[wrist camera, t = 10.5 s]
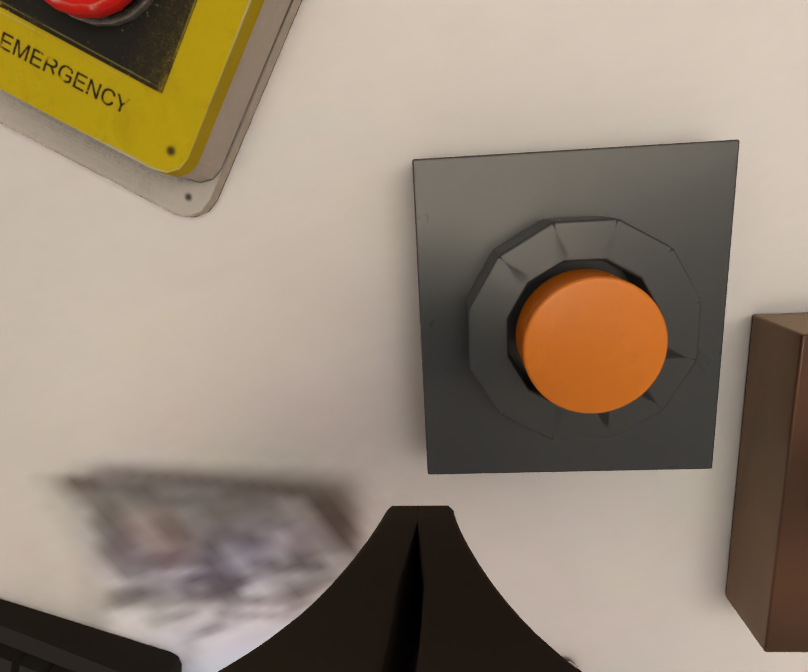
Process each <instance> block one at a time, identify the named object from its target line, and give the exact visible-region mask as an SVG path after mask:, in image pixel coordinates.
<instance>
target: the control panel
mask: <svg viewBox="0 0 808 672" xmlns="http://www.w3.org/2000/svg"><path fill="white" fill-rule="evenodd" d="M726 597H727V599H728V600H729V602H730V603H731V604H732V606H733V607H734V609H735V610H736V611H737V613H738V614H739V616H740V617H741V619H742V620H743V621H744V623H745V624H746V626H747V627H748V628H749V630H750V631H751V633H752V634H753V636H754V637H755V638H756V640H757V641H758V643H759V644H760V646H761V647H762V648H763V650H764V651H765V652H808V313H789V314H763V315H754V316H753V321H752V332H751V342H750V352H749V363H748V373H747V383H746V394H745V404H744V414H743V425H742V435H741V445H740V456H739V466H738V476H737V487H736V497H735V507H734V518H733V528H732V538H731V549H730V559H729V569H728V580H727V590H726Z"/></svg>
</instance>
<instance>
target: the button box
mask: <svg viewBox="0 0 808 672" xmlns="http://www.w3.org/2000/svg"><path fill="white" fill-rule="evenodd" d="M738 152H739V140H724V141H708V142H691V143H675V144H658V145H642V146H625V147H609V148H592V149H576V150H559V151H543V152H526V153H510V154H494V155H477V156H461V157H444V158H428V159H414V160H413V161H412V164H413V185H414V205H415V225H416V246H417V266H418V286H419V307H420V327H421V347H422V367H423V388H424V408H425V428H426V449H427V469H428V474H472V473H520V472H568V471H615V470H663V469H711V468H712V460H713V448H714V437H715V425H716V413H717V401H718V389H719V377H720V365H721V354H722V342H723V330H724V318H725V306H726V294H727V282H728V270H729V259H730V247H731V235H732V223H733V211H734V199H735V187H736V176H737V164H738ZM575 269H596V270H601V271H605V272H608V273H611V274H613V275H615V276H617V277H619V278H622V279H624V280H626V281H628V282H630V283H632V284H634V285H635V286H637V287H639V288H640V289H642V290H643V291H644V292H645V293H647V294H648V295H649V296H650V297H651V298H652V299H653V301H654V302H655V303H656V305H657V306H658V308H659V309H660V311H661V313H662V315H663V317H664V320H665V324H666V328H667V334H668V346H667V354H666V358H665V361H664V364H663V367H662V369H661V371H660V373H659V375H658V376H657V378H656V380H655V381H654V382H653V384H652V385H651V386H650V387H649V388H648V389H647V390H646V391H645V392H644V393H643V394H642V395H641V396H640V397H638V398H637V399H636V400H634V401H632V402H631V403H629V404H627V405H625V406H623V407H621V408H618V409H615V410H612V411H608V412H603V413H579V412H573V411H570V410H566V409H564V408H562V407H559V406H557V405H555V404H554V403H552V402H550V401H549V400H548V399H547V398H545V397H544V396H543V395H542V394H541V393H540V392H539V391H538V390H537V389H536V387H535V386H534V385H533V383H532V382H531V380H530V378H529V376H528V374H527V372H526V370H525V368H524V366H523V363H522V361H521V359H520V357H519V354H518V350H517V346H516V325H517V320H518V317H519V314H520V311H521V309H522V307H523V305H524V303H525V302H526V300H527V299H528V297H529V296H530V295H531V294H532V293H533V291H534V290H535V289H536V288H538V287H539V286H540V285H541V284H542V283H544V282H545V281H547V280H548V279H550V278H552V277H554V276H555V275H558V274H560V273H563V272H566V271H570V270H575Z"/></svg>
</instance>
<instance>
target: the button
mask: <svg viewBox="0 0 808 672" xmlns="http://www.w3.org/2000/svg"><path fill="white" fill-rule="evenodd" d="M516 346H517V350H518V354H519V357H520V359H521V361H522V363H523V366H524V368H525V370H526V372H527V374H528V376H529V378H530V380H531V382H532V383H533V385H534V386H535V387H536V389H537V390H538V391H539V392H540V393H541V394H542V395H543V396H544V397H545V398H547V399H548V400H549V401H550V402H552V403H554V404H555V405H557V406H559V407H562V408H564V409H566V410H570V411H573V412H579V413H603V412H608V411H612V410H615V409H618V408H621V407H623V406H625V405H627V404H629V403H631V402H632V401H634V400H636V399H637V398H638V397H640V396H641V395H642V394H643V393H644V392H645V391H646V390H647V389H648V388H649V387H650V386H651V385H652V384H653V382H654V381H655V380H656V378H657V376H658V375H659V373H660V371H661V369H662V367H663V364H664V361H665V358H666V354H667V346H668V334H667V328H666V324H665V320H664V317H663V315H662V313H661V311H660V309H659V308H658V306H657V305H656V303H655V302H654V301H653V299H652V298H651V297H650V296H649V295H648V294H647V293H645V292H644V291H643V290H642V289H640V288H639V287H637V286H635V285H634V284H632V283H630V282H628V281H626V280H624V279H622V278H619V277H617V276H615V275H613V274H611V273H608V272H605V271H601V270H596V269H575V270H570V271H566V272H563V273H560V274H558V275H555V276H554V277H552V278H550V279H548V280H547V281H545V282H544V283H542V284H541V285H540V286H539V287H538V288H536V289H535V290H534V291H533V293H532V294H531V295H530V296H529V297H528V299H527V300H526V302H525V303H524V305H523V307H522V309H521V311H520V314H519V317H518V320H517V325H516Z"/></svg>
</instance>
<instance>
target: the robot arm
mask: <svg viewBox="0 0 808 672" xmlns="http://www.w3.org/2000/svg"><path fill="white" fill-rule="evenodd" d="M218 672H581V671H580V670H579V669H577V666H576V665H575V664H574V663H572V662H571V661H567V660H565V659H564V658H563V657H561V656H560V655H559V654H558V653H557V652H556V651H555V650H554V649H552V648H551V647H550V646H549V645H548V644H547V643H546V642H544V641H543V640H542V639H541V638H540V637H539V636H538V635H537V634H536V633H535V632H534V631H533V630H532V629H531V628H530V627H529V626H528V625H527V624H526V623H525V622H524V621H523V620H522V619H521V618H520V617H519V616H518V615H517V613H516V612H515V611H514V610H513V609H512V608H511V607H510V605H509V604H508V603H507V602H506V601H505V599H504V598H503V597H502V596H501V594H500V593H499V592H498V591H497V589H496V588H495V587H494V585H493V584H492V582H491V581H490V580H489V578H488V577H487V575H486V574H485V573H484V571H483V569H482V568H481V566H480V565H479V563H478V562H477V560H476V558H475V557H474V555H473V553H472V552H471V550H470V548H469V547H468V545H467V543H466V541H465V539H464V537H463V535H462V533H461V531H460V529H459V526H458V524H457V522H456V519H455V516H454V511H453V510H452V509H451V508H450V507H449V506H391V507H390V508H389V509H388V510H387V512H386V513H385V515H384V517H383V518H382V520H381V522H380V523H379V525H378V526H377V528H376V529H375V531H374V532H373V534H372V535H371V537H370V538H369V539H368V541H367V542H366V544H365V545H364V546H363V547H362V549H361V550H360V551H359V553H358V554H357V555H356V557H355V558H354V559H353V561H352V562H351V563H350V564H349V565H348V567H347V568H346V569H345V570H344V571H343V572H342V573H341V575H340V576H339V577H338V578H337V579H336V580H335V581H334V583H333V584H332V585H331V586H330V587H329V588H328V589H327V590H326V591H325V592H324V593H323V594H322V595H321V596H320V597H319V598H318V599H317V600H316V601H315V602H314V603H313V604H312V605H311V606H310V607H309V608H308V609H306V610H305V611H304V612H303V613H302V614H301V615H300V616H299V617H297V618H296V619H295V620H293V621H292V622H291V623H290V624H288V625H287V626H286V627H284V628H283V629H282V630H280V631H279V632H278V633H277V634H275V635H274V636H273V637H271V638H270V639H269V640H267V641H266V642H264V643H263V644H262V645H260V646H259V647H257V648H256V649H254V650H253V651H251V652H249V653H248V654H246V655H245V656H243V657H242V658H240V659H238V660H237V661H235V662H233V663H232V664H230V665H228V666H227V667H225V668H223V669H222V670H220V671H218Z"/></svg>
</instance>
